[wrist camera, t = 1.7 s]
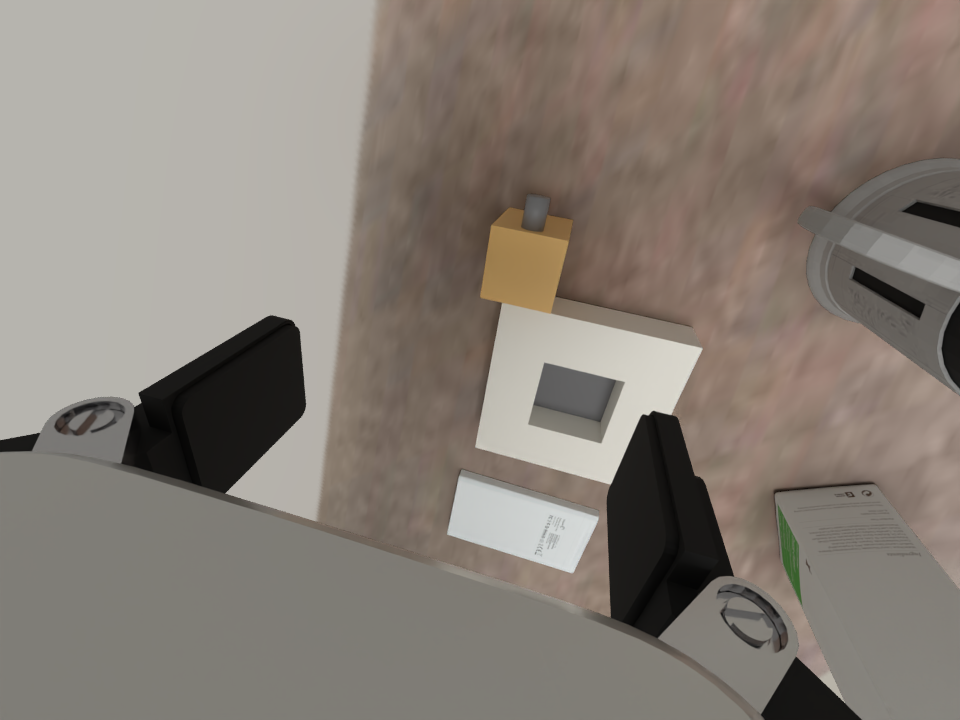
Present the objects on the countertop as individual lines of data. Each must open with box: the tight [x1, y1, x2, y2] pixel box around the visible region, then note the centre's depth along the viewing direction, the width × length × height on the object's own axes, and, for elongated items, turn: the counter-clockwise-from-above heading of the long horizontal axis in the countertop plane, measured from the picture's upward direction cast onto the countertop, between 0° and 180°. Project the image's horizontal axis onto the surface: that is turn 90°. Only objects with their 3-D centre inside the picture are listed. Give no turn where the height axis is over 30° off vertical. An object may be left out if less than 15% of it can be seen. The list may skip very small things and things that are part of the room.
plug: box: [480, 194, 573, 314], centre depth 24 cm, size 6×4×6 cm
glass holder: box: [798, 158, 960, 396], centre depth 16 cm, size 9×14×15 cm, turn 73°
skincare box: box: [775, 484, 960, 720], centre depth 25 cm, size 8×7×16 cm
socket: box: [475, 297, 703, 484], centre depth 30 cm, size 12×12×3 cm
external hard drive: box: [447, 469, 599, 573], centre depth 39 cm, size 2×8×12 cm
